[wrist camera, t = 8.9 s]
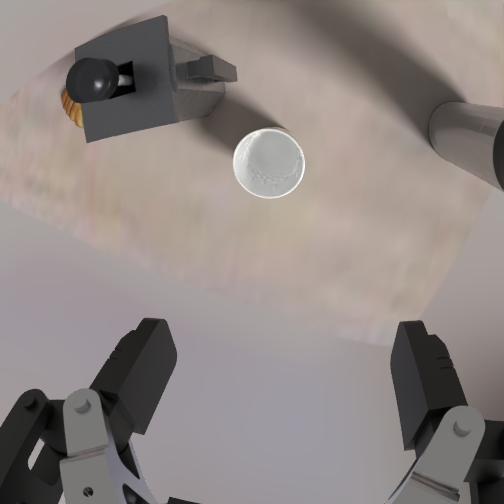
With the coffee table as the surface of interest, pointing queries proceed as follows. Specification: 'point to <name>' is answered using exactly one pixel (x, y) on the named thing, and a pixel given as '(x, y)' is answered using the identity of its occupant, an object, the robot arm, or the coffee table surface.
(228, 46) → the coffee table surface
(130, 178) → the coffee table surface
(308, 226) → the coffee table surface
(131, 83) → the plunger
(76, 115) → the pastry
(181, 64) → the square french press
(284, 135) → the white cup
